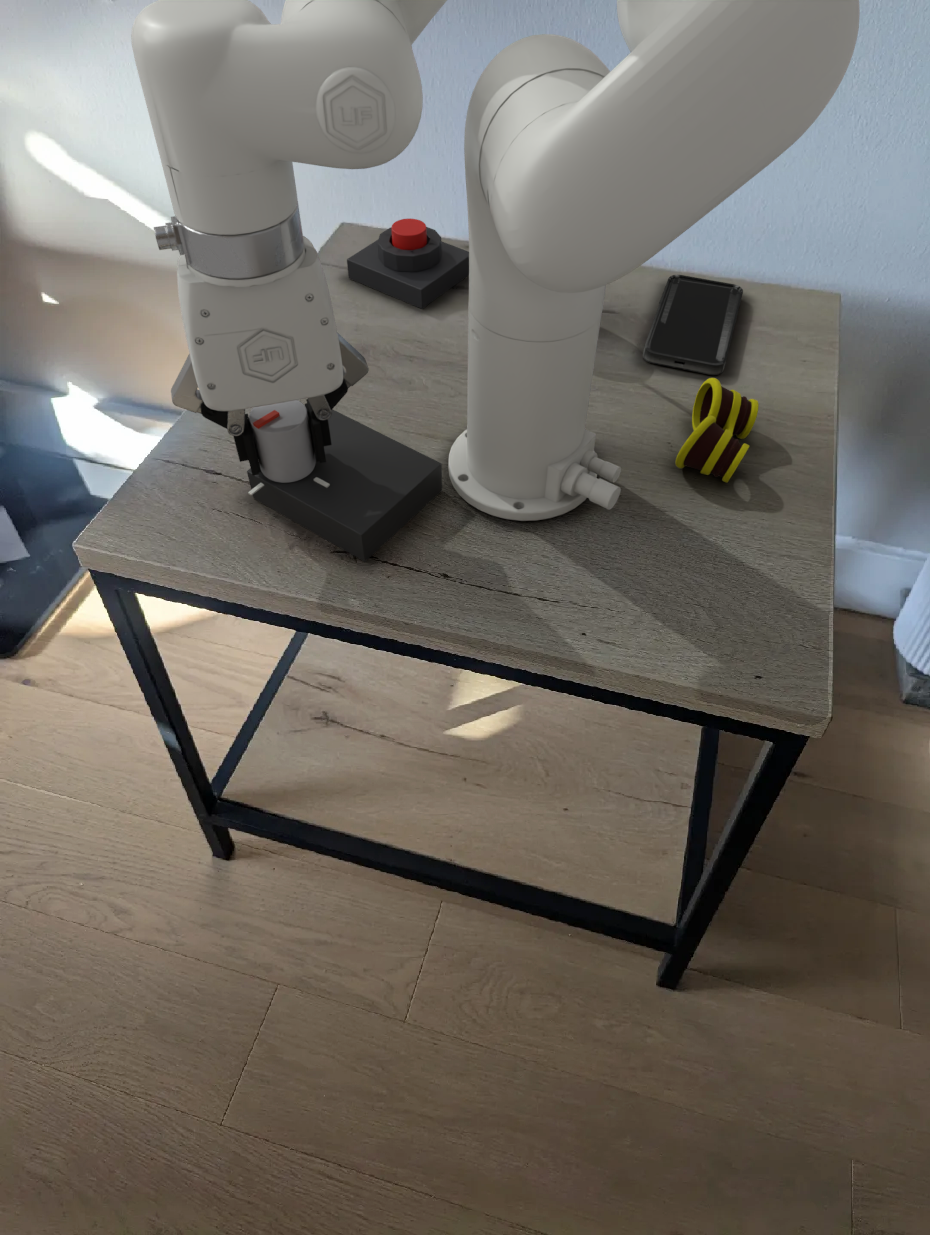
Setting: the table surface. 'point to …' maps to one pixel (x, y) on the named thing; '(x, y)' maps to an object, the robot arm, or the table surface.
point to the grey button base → (410, 268)
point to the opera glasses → (718, 430)
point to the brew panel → (355, 488)
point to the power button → (409, 234)
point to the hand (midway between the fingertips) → (286, 455)
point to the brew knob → (283, 441)
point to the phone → (693, 325)
